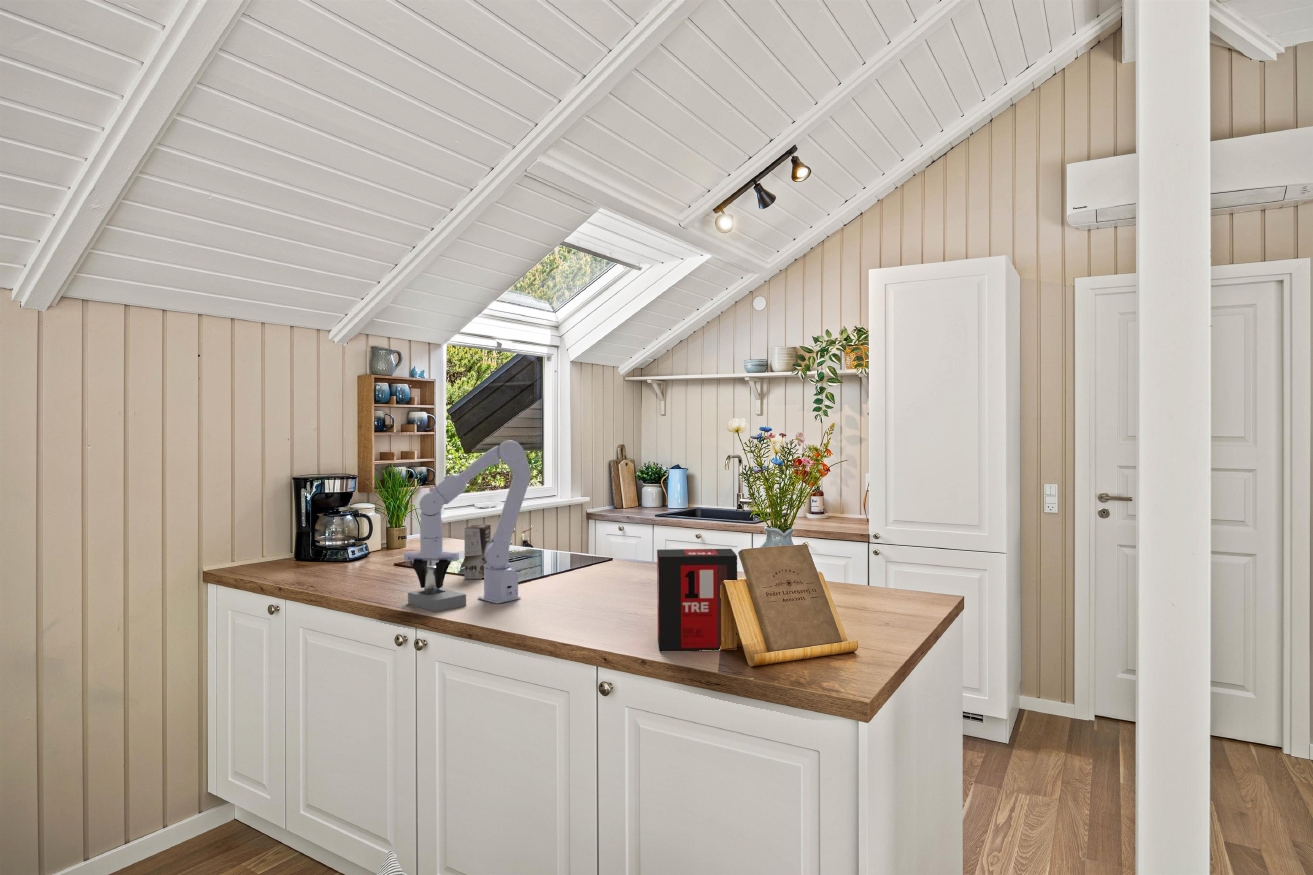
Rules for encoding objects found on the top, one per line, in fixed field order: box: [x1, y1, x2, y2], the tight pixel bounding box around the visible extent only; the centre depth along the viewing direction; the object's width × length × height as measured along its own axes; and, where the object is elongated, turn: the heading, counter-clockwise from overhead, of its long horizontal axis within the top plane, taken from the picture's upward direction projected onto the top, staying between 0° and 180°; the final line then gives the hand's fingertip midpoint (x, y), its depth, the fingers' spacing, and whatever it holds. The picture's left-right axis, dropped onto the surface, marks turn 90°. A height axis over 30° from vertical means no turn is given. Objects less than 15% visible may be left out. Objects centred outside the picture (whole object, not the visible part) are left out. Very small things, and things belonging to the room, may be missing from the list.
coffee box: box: [464, 524, 492, 580], centre depth 225 cm, size 9×6×16 cm
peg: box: [423, 565, 440, 595], centre depth 190 cm, size 4×4×8 cm
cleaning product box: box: [656, 548, 738, 652], centre depth 151 cm, size 16×9×20 cm, turn 92°
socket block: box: [407, 587, 467, 613], centre depth 188 cm, size 14×9×3 cm, turn 48°
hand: (431, 587), depth 190 cm, fingers closed on peg, 4 cm apart
